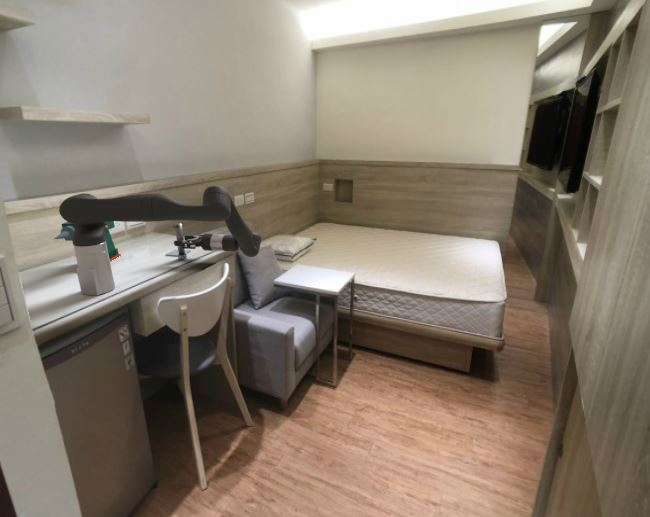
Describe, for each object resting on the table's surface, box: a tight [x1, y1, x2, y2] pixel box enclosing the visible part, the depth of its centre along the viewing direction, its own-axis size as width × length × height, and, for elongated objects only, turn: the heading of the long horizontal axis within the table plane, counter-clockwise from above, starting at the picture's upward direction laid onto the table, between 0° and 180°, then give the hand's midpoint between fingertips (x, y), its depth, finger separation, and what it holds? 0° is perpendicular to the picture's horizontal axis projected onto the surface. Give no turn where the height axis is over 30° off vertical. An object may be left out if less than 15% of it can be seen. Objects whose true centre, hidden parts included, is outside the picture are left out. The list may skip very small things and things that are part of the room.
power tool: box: [53, 221, 122, 263], centre depth 139 cm, size 32×7×20 cm, turn 0°
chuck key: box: [172, 221, 188, 261], centre depth 151 cm, size 7×4×16 cm, turn 172°
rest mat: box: [164, 249, 192, 257], centre depth 161 cm, size 8×8×1 cm
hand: (179, 240), depth 151 cm, fingers open, 8 cm apart
